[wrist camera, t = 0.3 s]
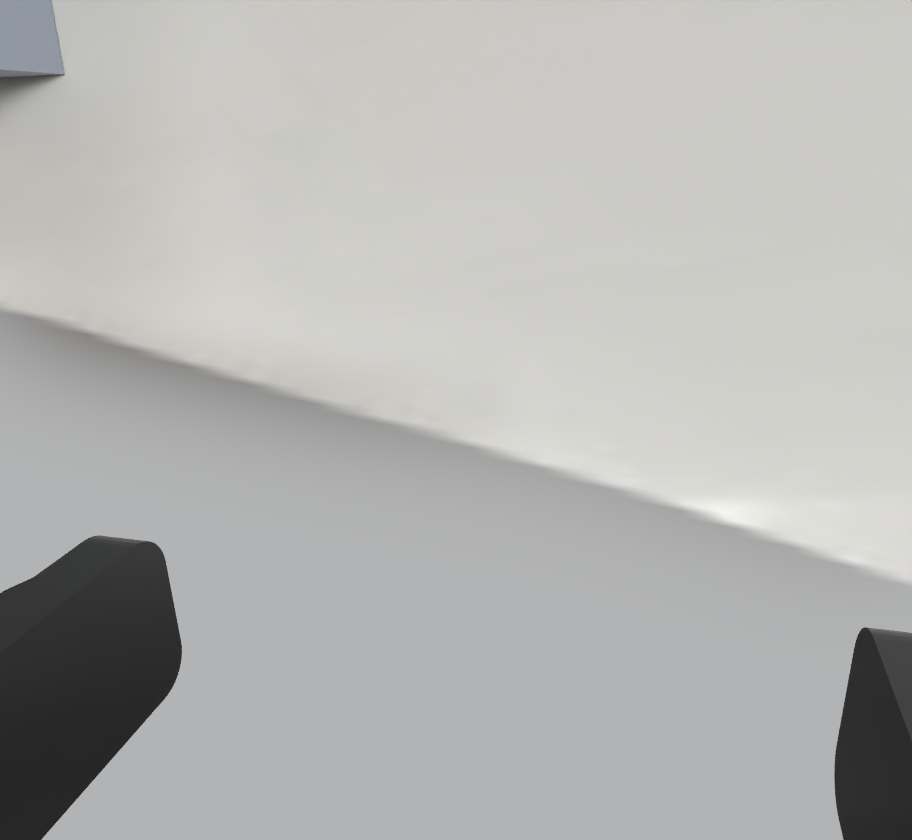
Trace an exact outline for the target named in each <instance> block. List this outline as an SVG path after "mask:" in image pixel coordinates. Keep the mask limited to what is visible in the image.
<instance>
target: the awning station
mask: <svg viewBox="0 0 912 840" xmlns="http://www.w3.org/2000/svg"><path fill="white" fill-rule="evenodd" d="M60 74H64V69H63V63H62V58H61V52H60V47H59V41H58V36H57V30H56V25H55V20H54V14H53V9H52V3H51V0H0V77H19V76H39V75H60Z"/></svg>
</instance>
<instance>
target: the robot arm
mask: <svg viewBox="0 0 912 840" xmlns="http://www.w3.org/2000/svg"><path fill="white" fill-rule="evenodd" d="M181 655H182V646H181V639H180V634H179V629H178V624H177V619H176V613H175V608H174V603H173V598H172V592H171V587H170V582H169V577H168V571H167V566H166V561H165V557H164V555H163V552H162V551H161V549H160V548H159V547H158V546H157V545H156V544H155V543H152V542H148V541H140V540H132V539H123V538H115V537H106V536H93V537H91V538H88V539H87V540H85V541H83V542H82V543H80V544H79V545H78V546H76V547H75V548H74V549H72V550H71V551H69V552H68V553H67V554H65V555H64V556H62V557H61V558H60V559H58V560H57V561H56V562H54V563H53V564H51V565H50V566H49V567H47V568H46V569H44V570H43V571H42V572H40V573H39V574H38V575H36V576H35V577H33V578H31V579H29V580H27V581H25V582H23V583H20V584H18V585H16V586H14V587H11V588H9V589H7V590H5V591H3V592H2V593H1V594H0V840H41V839H42V838H43V837H44V836H45V835H46V833H47V832H48V831H49V830H50V829H51V828H52V827H53V825H54V824H55V823H56V822H57V821H58V820H59V818H60V817H61V816H62V815H63V814H64V813H65V812H66V811H67V809H68V808H69V807H70V806H71V805H72V804H73V803H74V801H75V800H76V799H77V798H78V797H79V796H80V795H81V793H82V792H83V791H84V790H85V789H86V788H87V787H88V785H89V784H90V783H91V782H92V781H93V780H94V779H95V778H96V776H97V775H98V774H99V773H100V772H101V771H102V770H103V768H104V767H105V766H106V765H107V764H108V763H109V762H110V760H111V759H112V758H113V757H114V756H115V754H117V752H118V751H119V750H120V749H121V748H122V747H123V745H124V744H125V743H126V742H127V741H128V740H129V739H130V738H131V736H132V735H133V734H134V733H135V732H136V731H137V730H138V728H139V727H140V726H141V725H142V724H143V723H144V722H145V720H146V719H147V718H148V717H149V716H150V715H151V714H152V712H153V711H154V710H155V709H156V708H157V707H158V706H159V704H160V703H161V702H162V701H163V700H164V699H165V697H166V696H167V695H168V693H169V692H170V690H171V689H172V687H173V685H174V683H175V680H176V678H177V675H178V672H179V668H180V664H181ZM835 796H836V805H837V811H838V816H839V821H840V826H841V830H842V835H843V839H844V840H912V633H907V632H898V631H889V630H882V629H873V628H863V629H861V631H860V632H859V634H858V637H857V640H856V643H855V648H854V653H853V659H852V664H851V670H850V675H849V680H848V687H847V692H846V697H845V703H844V708H843V713H842V719H841V724H840V730H839V736H838V741H837V747H836V755H835Z"/></svg>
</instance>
